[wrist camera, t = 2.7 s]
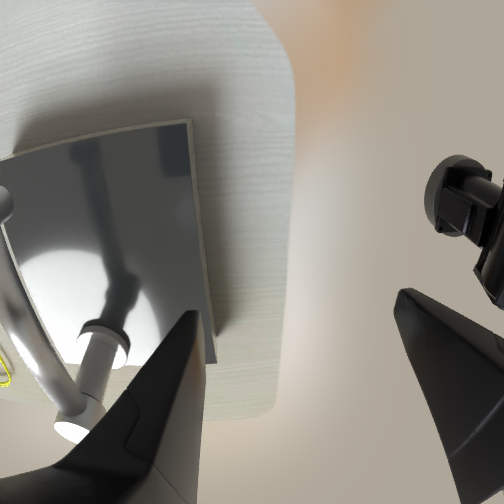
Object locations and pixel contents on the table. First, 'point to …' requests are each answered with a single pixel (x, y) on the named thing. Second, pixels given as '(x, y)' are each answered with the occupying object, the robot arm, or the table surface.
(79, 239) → the tap deck
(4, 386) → the glasses
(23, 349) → the spout
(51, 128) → the table surface
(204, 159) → the table surface
